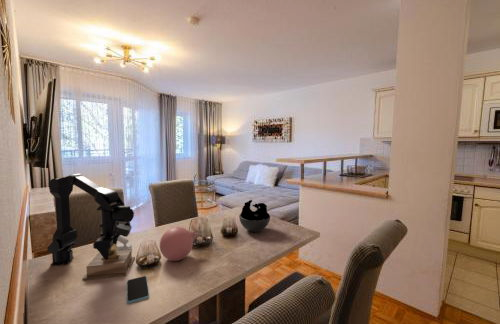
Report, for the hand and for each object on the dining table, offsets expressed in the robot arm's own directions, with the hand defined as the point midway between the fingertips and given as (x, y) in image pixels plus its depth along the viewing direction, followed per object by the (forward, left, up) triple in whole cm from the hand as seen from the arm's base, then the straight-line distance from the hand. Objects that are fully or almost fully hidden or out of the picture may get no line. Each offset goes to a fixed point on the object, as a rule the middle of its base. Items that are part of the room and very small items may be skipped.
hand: (110, 254), depth 101 cm
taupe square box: (0, 0, -6) cm, 6 cm away
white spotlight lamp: (-1, +18, -7) cm, 19 cm away
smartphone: (+15, -18, -7) cm, 24 cm away
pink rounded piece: (+30, +4, -7) cm, 31 cm away
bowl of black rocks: (+74, +30, -7) cm, 80 cm away
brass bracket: (0, 0, -6) cm, 6 cm away
